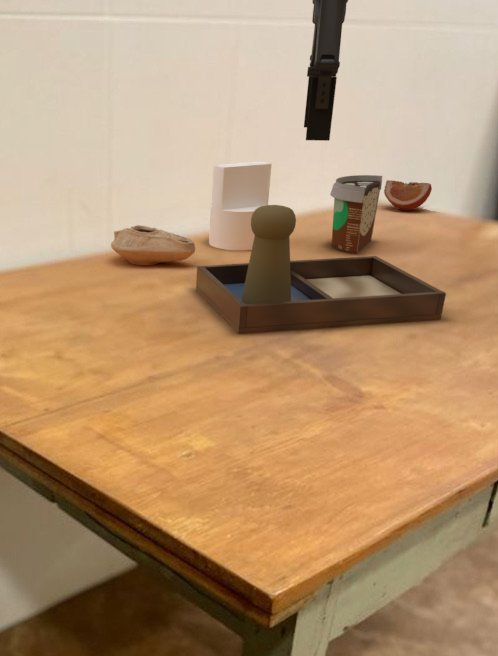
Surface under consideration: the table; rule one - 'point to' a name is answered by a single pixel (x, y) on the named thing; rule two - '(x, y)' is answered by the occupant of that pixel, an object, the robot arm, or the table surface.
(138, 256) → the pottery oil lamp
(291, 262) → the sorting tray
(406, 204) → the fruit slice
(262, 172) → the cylinder with rectangular tab
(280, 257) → the olive knobbed cone
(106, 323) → the table surface
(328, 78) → the robot arm
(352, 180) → the food container
